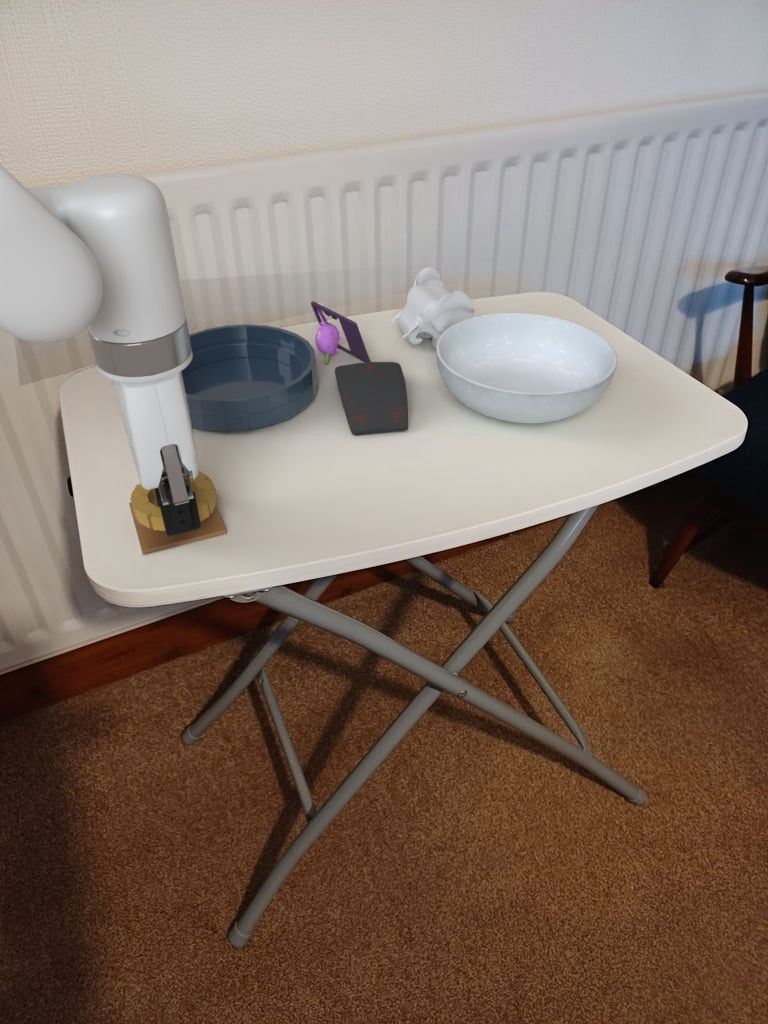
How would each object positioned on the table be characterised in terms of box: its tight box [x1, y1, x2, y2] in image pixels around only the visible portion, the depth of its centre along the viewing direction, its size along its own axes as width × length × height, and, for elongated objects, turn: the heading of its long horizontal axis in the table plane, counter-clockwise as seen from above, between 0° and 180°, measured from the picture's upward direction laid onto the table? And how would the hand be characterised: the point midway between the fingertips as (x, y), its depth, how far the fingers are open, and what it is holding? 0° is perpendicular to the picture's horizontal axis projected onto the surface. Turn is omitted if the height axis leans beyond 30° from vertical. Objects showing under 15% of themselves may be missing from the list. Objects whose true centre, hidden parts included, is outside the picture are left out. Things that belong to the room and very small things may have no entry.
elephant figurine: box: [387, 266, 476, 349], centre depth 105 cm, size 10×12×9 cm
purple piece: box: [310, 300, 371, 365], centre depth 102 cm, size 7×5×9 cm
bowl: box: [181, 323, 319, 432], centre depth 96 cm, size 19×19×4 cm
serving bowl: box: [435, 311, 619, 424], centre depth 93 cm, size 21×21×7 cm
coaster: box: [128, 494, 227, 556], centre depth 77 cm, size 8×8×1 cm
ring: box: [130, 470, 218, 531], centre depth 76 cm, size 8×8×2 cm
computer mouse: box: [334, 361, 409, 436], centre depth 93 cm, size 8×14×4 cm, turn 9°
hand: (180, 520), depth 74 cm, fingers closed on ring, 2 cm apart
